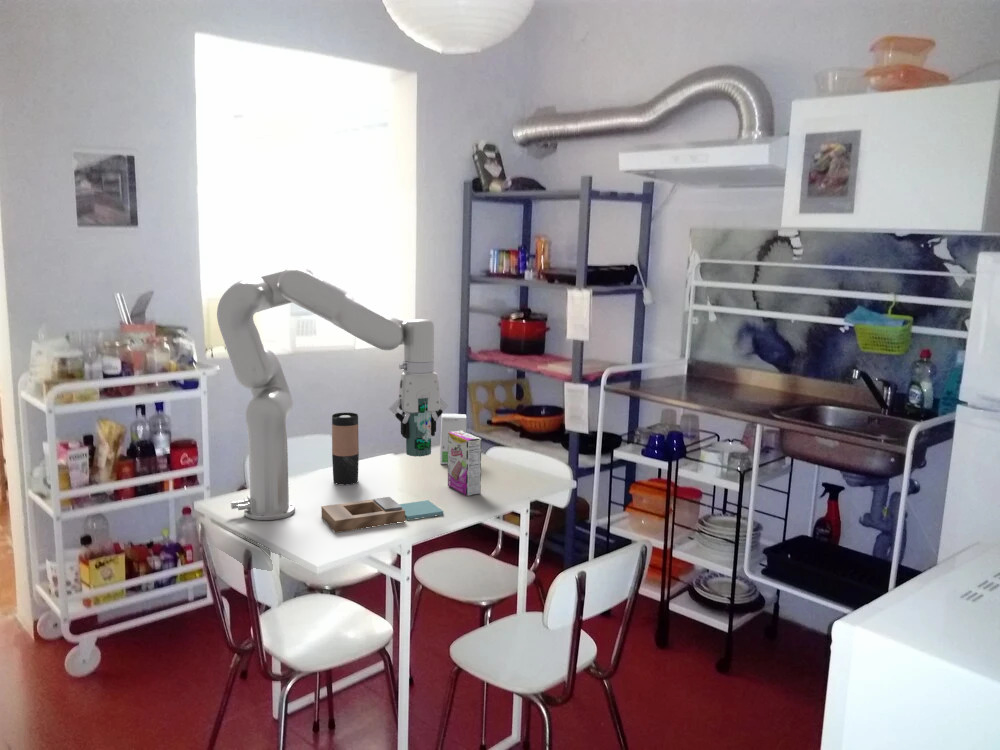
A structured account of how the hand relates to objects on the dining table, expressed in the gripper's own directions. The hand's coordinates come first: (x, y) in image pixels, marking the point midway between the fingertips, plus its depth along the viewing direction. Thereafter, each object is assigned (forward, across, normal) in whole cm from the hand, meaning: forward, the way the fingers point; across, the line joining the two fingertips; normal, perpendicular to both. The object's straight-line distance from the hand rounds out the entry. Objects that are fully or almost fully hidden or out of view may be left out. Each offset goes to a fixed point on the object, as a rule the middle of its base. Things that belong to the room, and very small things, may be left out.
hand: (418, 435), depth 203 cm
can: (+5, 0, 0) cm, 5 cm away
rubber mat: (+20, 0, 0) cm, 20 cm away
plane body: (+20, -15, 0) cm, 25 cm away
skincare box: (+21, +29, +41) cm, 54 cm away
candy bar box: (+21, +19, +12) cm, 31 cm away
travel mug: (+21, -9, +34) cm, 41 cm away
